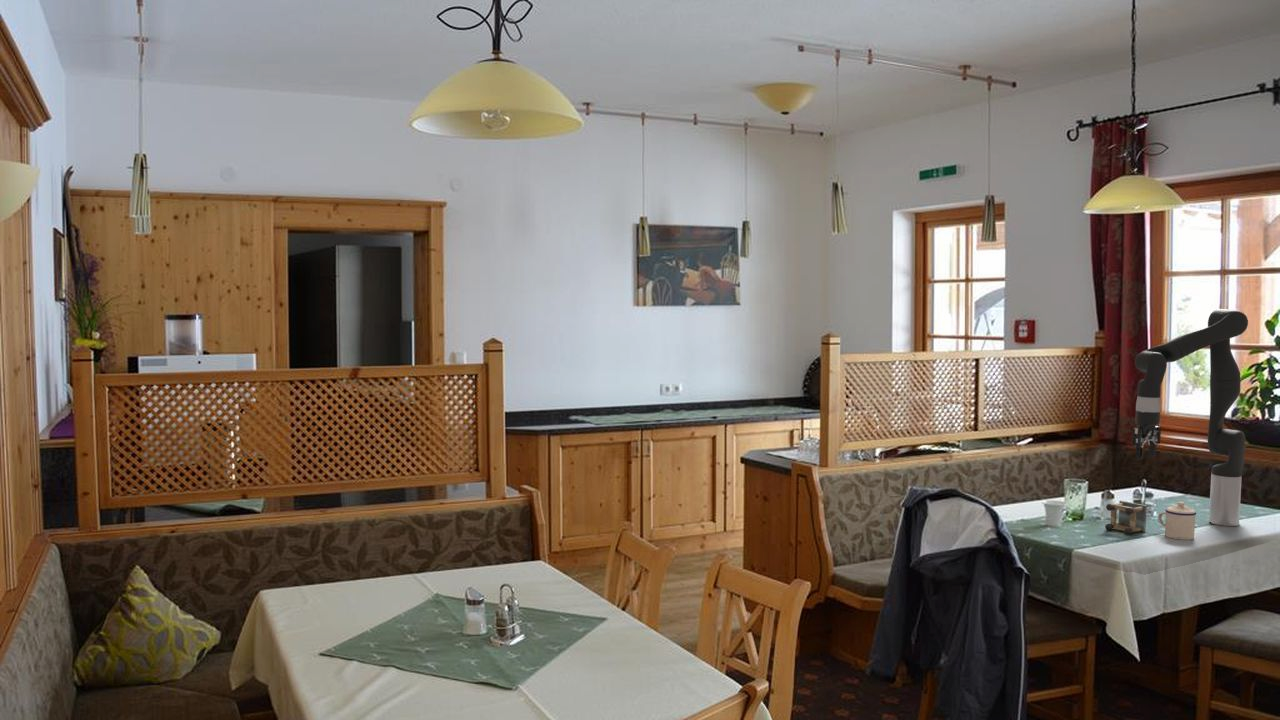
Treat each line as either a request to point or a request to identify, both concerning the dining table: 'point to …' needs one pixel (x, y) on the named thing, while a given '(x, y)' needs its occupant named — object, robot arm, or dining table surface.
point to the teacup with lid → (1179, 522)
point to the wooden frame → (1127, 517)
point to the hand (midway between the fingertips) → (1145, 457)
